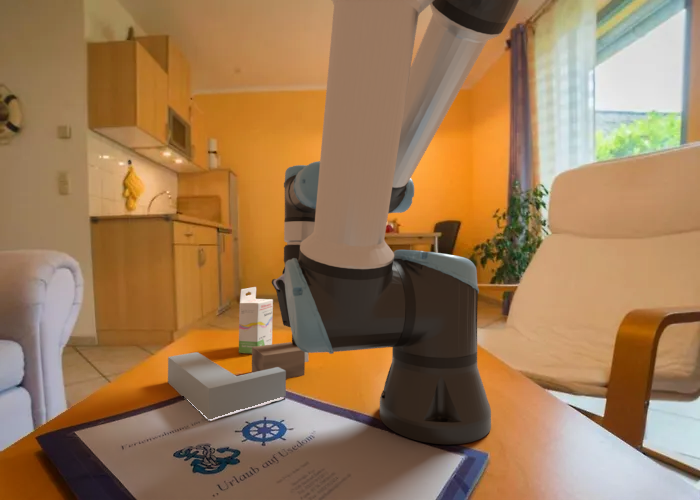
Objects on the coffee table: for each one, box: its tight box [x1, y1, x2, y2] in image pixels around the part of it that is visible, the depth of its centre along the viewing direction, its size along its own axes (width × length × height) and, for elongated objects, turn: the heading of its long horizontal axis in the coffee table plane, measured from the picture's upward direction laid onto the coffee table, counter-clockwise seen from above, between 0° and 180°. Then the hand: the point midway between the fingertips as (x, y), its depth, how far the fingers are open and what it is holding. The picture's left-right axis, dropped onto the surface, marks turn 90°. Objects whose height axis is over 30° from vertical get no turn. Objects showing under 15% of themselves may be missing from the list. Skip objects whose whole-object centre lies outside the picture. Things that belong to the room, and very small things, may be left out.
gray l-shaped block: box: [167, 351, 287, 419], centre depth 61 cm, size 20×12×4 cm, turn 41°
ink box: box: [238, 286, 274, 355], centre depth 88 cm, size 9×5×15 cm, turn 168°
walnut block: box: [251, 341, 306, 379], centre depth 70 cm, size 7×8×5 cm
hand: (301, 360), depth 73 cm, fingers closed
